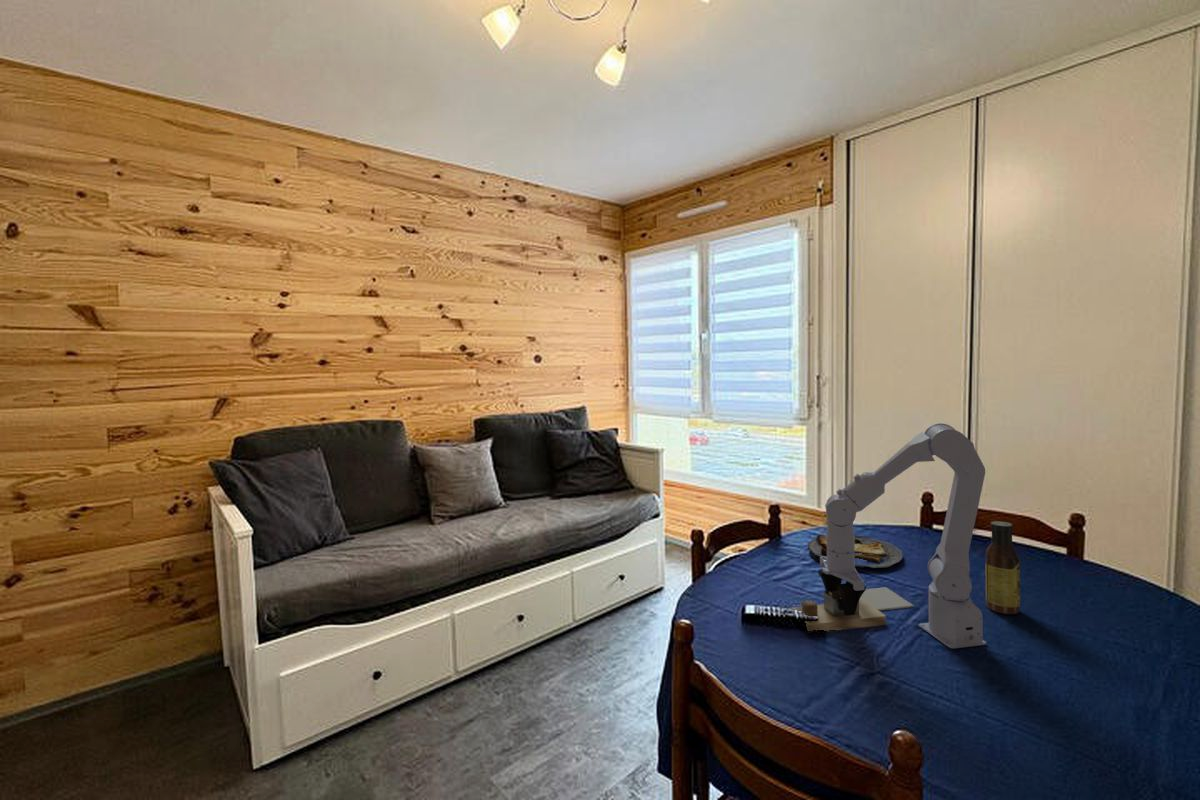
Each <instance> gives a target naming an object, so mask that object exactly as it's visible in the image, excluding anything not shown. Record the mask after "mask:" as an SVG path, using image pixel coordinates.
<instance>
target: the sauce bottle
mask: <svg viewBox="0 0 1200 800" xmlns="http://www.w3.org/2000/svg"><path fill="white" fill-rule="evenodd" d="M989 528H990V529H991V542H990V544H989V545H988V546H987V548H986V550H985V566H984V568H985V569H984V570H985V573H984V574H985V601H986V606H987V607H988V609H989V610H991V611H993V612H994V613H995V612H996V613H998V614H1002V615H1016V614H1018V613H1019V611H1020V606H1021V588H1020V587H1021V582H1020V581H1021V579H1020V578H1021V574H1020V573H1021V571H1020V569H1021V567H1020V565H1021V564H1020V558H1019V556H1018V553H1017V551H1016V548H1015V546H1014V543H1013V542H1014V541H1013V531H1014V526H1013V524H1012V523H1010V522H1007V521H999V520H995V521H991V522H990V527H989Z"/></svg>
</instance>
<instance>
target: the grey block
mask: <svg viewBox="0 0 1200 800" xmlns="http://www.w3.org/2000/svg"><path fill="white" fill-rule="evenodd" d="M823 604H824V609H825V610H826V611H828V612H829V613H830V614H831V615H832V616H833V617H837V616H846V615H845V614H844V611H843V604H842V598H841V594H840V591H839V590H834V591H826V590H825V591H823ZM855 614H859V602H858V605H857V608H856V612H855Z"/></svg>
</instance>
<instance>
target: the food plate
mask: <svg viewBox="0 0 1200 800" xmlns="http://www.w3.org/2000/svg"><path fill="white" fill-rule="evenodd" d="M854 538H855V553H862V554H855V558H859V559H863V560H867V562H870V561H873V562H872V563H876V562H877V563H876V564H869V565H867V564H863V565H862V564H857V565H856V564H855V568H856V567H857V568H865V567H867V568H872V569H876V568H877V569H879V568H890V567H892V566H893V565H894V564H897V563H899V562H900V561H901V560H903V551H902V550H901V549H900V548H898V547H897V546H896V545H893V544H892V543H889V542H886V541H883V540H879V539H875V538H870V537H868V536H862V535H861V536H860V535H854ZM807 549H808V550H809V551H810V552H811V553H812V554H813V556H814V555H815V556H816V557H818V558H820V557H823V556H827V537H826V535H825V534H822V533H821V534H818V535H817V536H816V538H814V539H812V540H810V541H809V542H808V543H807ZM882 555H883V556H882ZM884 557H885V562H884V560H883V558H884Z"/></svg>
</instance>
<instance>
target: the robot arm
mask: <svg viewBox="0 0 1200 800" xmlns="http://www.w3.org/2000/svg"><path fill="white" fill-rule="evenodd" d="M933 456H936V457H937V458H939V459H940V460H942V461H943V462H945V463H946V464H947V465H948V466H949V467H950V468H951V470H953V472H954V474H953V478H952V484H951V489H950V495H949V499H948V505H947V509H946V515H945V518H944V523H943V529H942V532H941V534H942V535H941V538H940V543H939V544H938V545H937V547H936V550H935V553H934V555H933V556H932V557H931V558H930V559H929V561H928V562H927V571H928V574H929V575H930V576H931V578H932V581H931V583H930V584H929V585H928V622H920V623H918V626H919V627H920V628H921V629H922V630H924V631H925V632H927V633H928V634H929V635H930V636H932V637H934V638H935V639H936V640H938V641H939V642H941V643H942V644H944V646H947V647H948V648H950V649H960V648H968V647H977V646H978V647H979V646H985V645H987V641H986V640H984V637H983V636H984V635H983V634H984V633H983V630H984V629H983V627H984V626H983V625H984V624H983V623H984V620H983V619H984V618H983V613H982V611H981V609H980V608H979V607H978V606H977V605H976V604H974V603H973V601H972V599H971V597H970V596H971V595H970V594H971V592H972V589H973V584H972V581H971V578H970V570H971V566H970V565H971V564H970V558H969V557H970V556H969V554H970V553H969V552H970V548H971V542H972V538H973V534H974V533H973V532H974V529H975V523H976V519H977V515H978V510H979V505H980V499H981V496H982V495H981V494H982V491H983V487H984V482H985V476H986V468H985V465H984V463H983V462H982V460H981V458H980V456H979V454H978V452H977V450H976V448H975V444H974V443H973V442H972V441H971V440H970V439H969V438H968V437H967V436H966V435H964V433H962V432H960V431H959V430H957V429H955V428H954V427H953V426H951V425H950V424H947V423H940V422H939V423H935V424H932V425H930V426H929V427H928V428H927V429H926V430H925V431H922V432H920V433H918V434H917V435H915V436H914V437H913V438H912V439H910V441H908V442H907V443H906V444H905V445H904V446H902V447H901V448H900V449H899V450H898V451H897V452H896V453H894V455H892V456H891V457H890V458H889V459H888V460H886V461H885V462H884V463H883V464H882V465H880V466H879V467H878V468H877V469H876V470H875V471H873V472H868V471H867V472H865V471H864V472H862V473H861V474H859V473H856V474H855V475H854V476H853V477H852V478H853V481H851V482H850V483H849V484H848V485H846V486H845V487H844V488H843V489H840V488H839V489H837V491H836V494H833V495H831V496H830V497H828V499H827V500H826V503H825V507H824V508H825V513H826V517H827V520H826V526H827V527H826V531H825V532H826V535H825V536H826V537H827V556H823V557H820V556H819V565H821V566H822V568H821V569H818V570H817V573H818V575H819V576H820V578H821V580H822V583H823V585H824V589H825V591H834V590H839V591H840V594H841V598H842V604H843V611H844V614H845V615H846V616H849V615H855V612H856V608H857V605H858V602H859V599H860V597H861V596H862V594H863V593H864V591H865V590H866V589H867V586H866V585H865V581H864V579H862V577H861V576H860V574H859V573H858V570H857V569H856V567H855V538H854V536H855V528H854V521H855V519H856V516H857V513H859V512H862V511H863V510H864V509H865V508H867V507H868V506H870V505H871V504H872V503H873V502H875V501H876V500H878V498H880V497H881V496H882V495H883V494H885V490H886V488H885V486H886V484H888V483H890V482H891V481H893V479H895V478H896V477H898V476H899V475H901V474H902V473H903V472H905V471H906V470H908V469H909V468H910V467H912V466H914V465H915V464H916V463H923V462H925V463H926V462H927V463H928V462H935V458H934V457H933ZM843 580H844V581H845V583H844V582H843V583H842V581H843Z"/></svg>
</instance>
